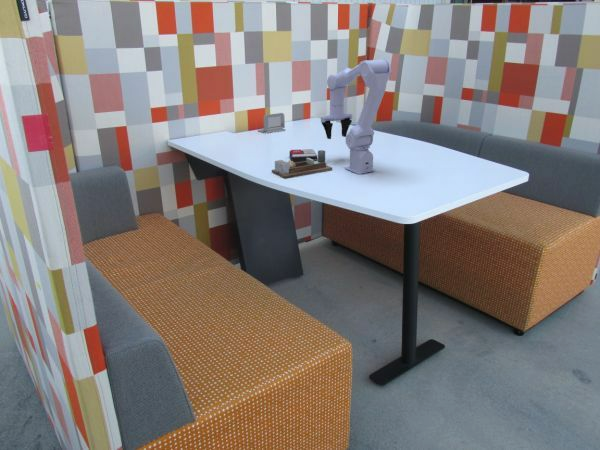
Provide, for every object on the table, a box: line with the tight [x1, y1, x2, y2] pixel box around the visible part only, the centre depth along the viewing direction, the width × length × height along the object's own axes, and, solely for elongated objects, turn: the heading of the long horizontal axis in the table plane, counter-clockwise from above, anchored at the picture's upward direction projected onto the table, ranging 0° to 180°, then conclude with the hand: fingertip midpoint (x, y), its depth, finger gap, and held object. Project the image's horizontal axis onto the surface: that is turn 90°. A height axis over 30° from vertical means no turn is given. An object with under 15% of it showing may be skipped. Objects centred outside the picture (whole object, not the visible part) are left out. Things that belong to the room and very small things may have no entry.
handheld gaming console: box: [257, 112, 286, 135], centre depth 279 cm, size 13×9×10 cm
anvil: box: [274, 159, 290, 175], centre depth 198 cm, size 7×3×4 cm, turn 30°
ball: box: [286, 160, 296, 168], centre depth 200 cm, size 4×4×4 cm
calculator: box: [289, 148, 318, 163], centre depth 220 cm, size 11×4×15 cm
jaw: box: [306, 150, 328, 166], centre depth 205 cm, size 4×8×6 cm, turn 120°
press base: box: [271, 159, 333, 180], centre depth 203 cm, size 11×22×3 cm, turn 120°
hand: (336, 137), depth 213 cm, fingers open, 7 cm apart
